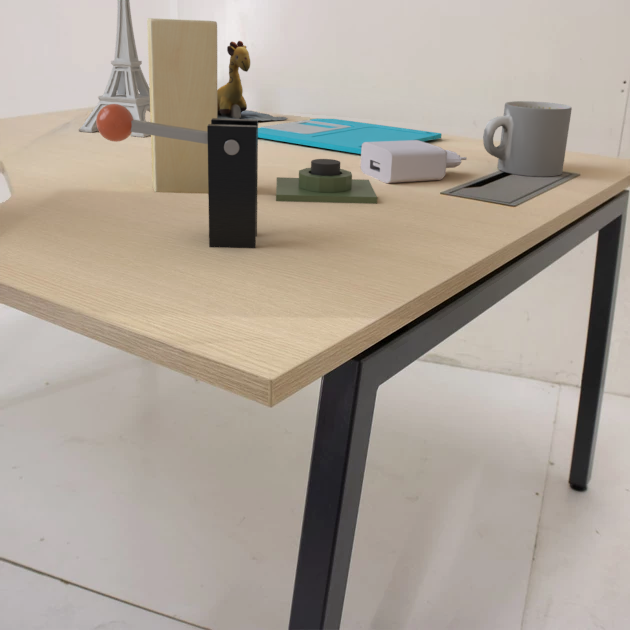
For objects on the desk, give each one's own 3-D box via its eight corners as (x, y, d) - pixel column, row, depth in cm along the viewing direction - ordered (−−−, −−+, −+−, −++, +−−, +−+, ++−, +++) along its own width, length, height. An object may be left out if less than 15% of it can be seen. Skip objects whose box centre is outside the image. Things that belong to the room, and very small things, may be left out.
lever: (91, 141, 72) (93, 103, 71) (99, 135, 76) (101, 99, 74) (245, 165, 74) (250, 128, 73) (246, 158, 77) (251, 123, 76)
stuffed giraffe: (226, 124, 159) (227, 39, 154) (177, 116, 171) (175, 38, 166) (287, 121, 169) (290, 42, 164) (236, 114, 182) (237, 40, 177)
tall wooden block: (211, 183, 109) (208, 19, 101) (219, 195, 102) (217, 21, 94) (151, 184, 107) (144, 17, 99) (156, 197, 100) (149, 19, 92)
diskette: (365, 155, 132) (366, 149, 131) (239, 135, 147) (239, 129, 147) (442, 138, 151) (442, 133, 151) (323, 122, 167) (324, 117, 166)
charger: (478, 179, 117) (389, 185, 111) (444, 167, 125) (359, 172, 119) (482, 147, 115) (392, 151, 110) (447, 137, 123) (361, 140, 117)
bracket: (166, 267, 74) (161, 127, 69) (178, 240, 82) (174, 114, 78) (295, 269, 75) (298, 131, 70) (294, 242, 83) (297, 117, 78)
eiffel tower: (143, 137, 142) (135, -47, 131) (78, 131, 146) (65, -49, 135) (178, 127, 154) (173, -42, 143) (117, 122, 158) (108, -44, 147)
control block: (275, 212, 95) (276, 179, 93) (276, 193, 104) (276, 163, 102) (376, 215, 95) (378, 182, 94) (367, 196, 104) (369, 165, 103)
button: (311, 178, 96) (311, 163, 96) (310, 172, 100) (310, 158, 99) (340, 179, 97) (341, 164, 96) (338, 173, 100) (339, 159, 99)
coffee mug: (548, 164, 130) (557, 101, 127) (572, 177, 121) (582, 109, 118) (469, 163, 129) (475, 99, 126) (486, 175, 120) (494, 107, 116)
